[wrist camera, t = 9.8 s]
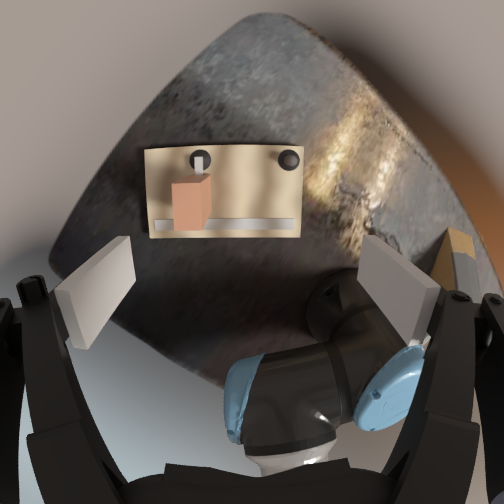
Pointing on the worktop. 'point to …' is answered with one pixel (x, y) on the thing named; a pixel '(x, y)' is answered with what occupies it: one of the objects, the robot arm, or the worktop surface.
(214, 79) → the worktop surface
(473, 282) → the sandwich container
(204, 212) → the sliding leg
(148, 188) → the board
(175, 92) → the worktop surface
